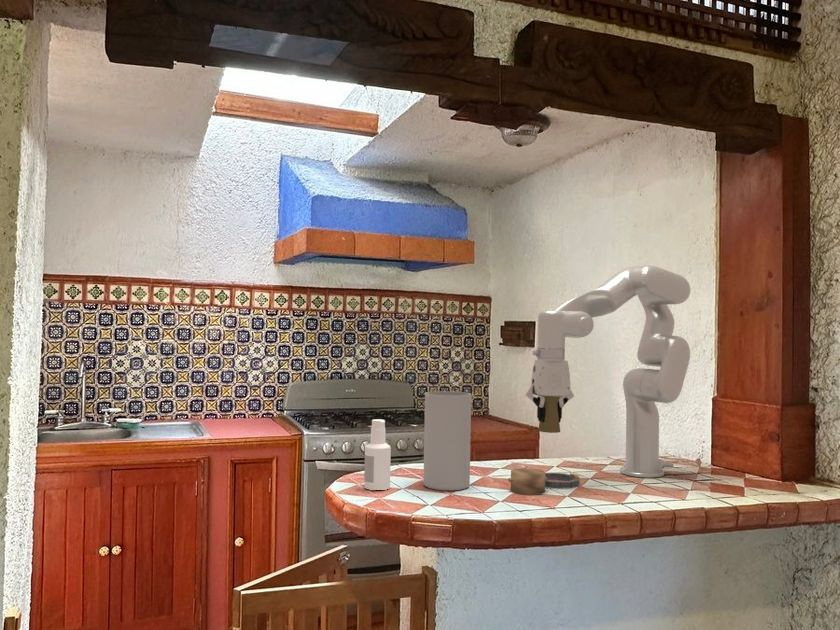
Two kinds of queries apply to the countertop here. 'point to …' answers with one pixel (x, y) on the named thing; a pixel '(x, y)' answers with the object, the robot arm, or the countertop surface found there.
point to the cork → (550, 416)
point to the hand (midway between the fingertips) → (549, 420)
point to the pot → (527, 481)
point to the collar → (570, 481)
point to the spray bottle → (377, 458)
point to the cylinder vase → (447, 440)
